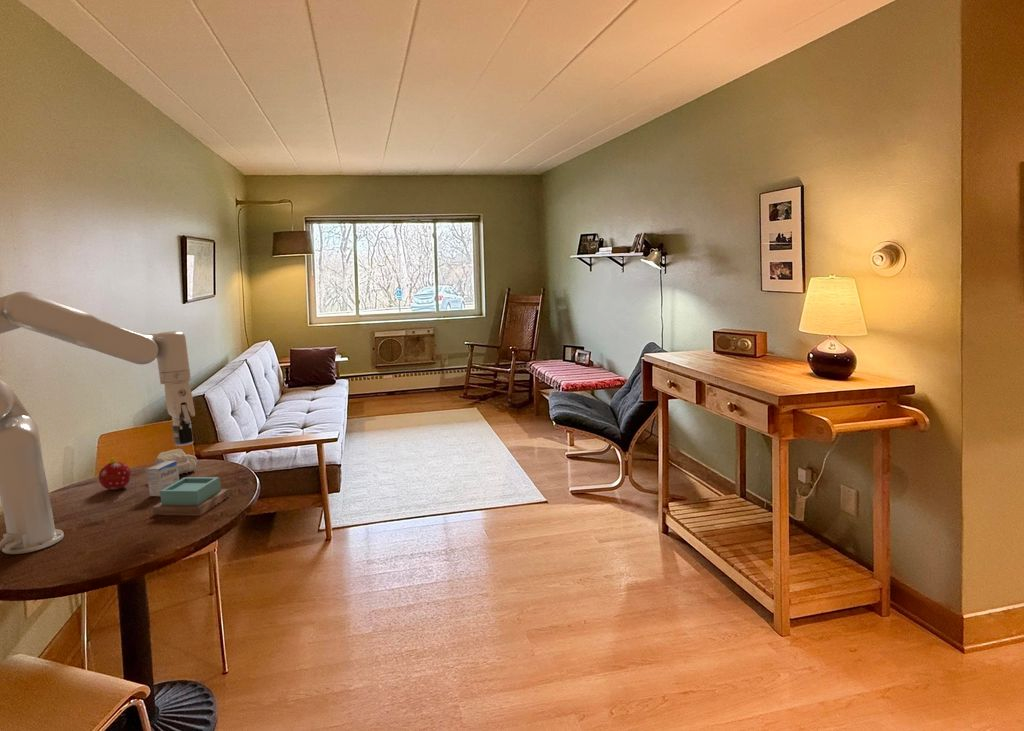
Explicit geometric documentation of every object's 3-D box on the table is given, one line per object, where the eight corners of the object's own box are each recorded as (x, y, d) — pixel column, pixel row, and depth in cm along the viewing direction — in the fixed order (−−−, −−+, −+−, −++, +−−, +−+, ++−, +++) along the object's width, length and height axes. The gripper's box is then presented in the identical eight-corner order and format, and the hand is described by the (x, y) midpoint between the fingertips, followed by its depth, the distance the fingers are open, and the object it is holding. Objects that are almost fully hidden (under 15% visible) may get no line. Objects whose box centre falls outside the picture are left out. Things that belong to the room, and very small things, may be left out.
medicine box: (162, 497, 191) (158, 469, 190) (149, 496, 192) (145, 468, 191) (180, 487, 199) (177, 460, 198) (168, 487, 200) (164, 460, 199)
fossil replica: (204, 470, 216) (181, 470, 219) (201, 445, 216) (178, 446, 219) (175, 479, 205) (151, 479, 208) (171, 453, 204) (148, 454, 207)
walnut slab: (200, 518, 176) (199, 507, 175) (154, 517, 178) (152, 506, 177) (230, 498, 189) (228, 489, 189) (186, 498, 192) (185, 488, 191)
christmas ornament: (95, 494, 196) (89, 463, 194) (110, 485, 204) (105, 454, 203) (124, 493, 196) (119, 461, 195) (138, 483, 205) (133, 453, 203)
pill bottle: (171, 444, 180) (167, 415, 179) (188, 440, 184) (184, 412, 182) (179, 447, 177) (175, 417, 176) (196, 443, 181) (192, 414, 179)
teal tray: (198, 504, 177) (196, 491, 177) (161, 504, 179) (159, 491, 178) (221, 490, 188) (219, 477, 187) (186, 490, 189) (184, 477, 189)
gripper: (199, 378, 173) (207, 443, 176) (181, 371, 186) (189, 432, 189) (168, 382, 168) (177, 449, 172) (152, 375, 181) (160, 438, 184)
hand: (183, 439), depth 180 cm, fingers closed on pill bottle, 4 cm apart
